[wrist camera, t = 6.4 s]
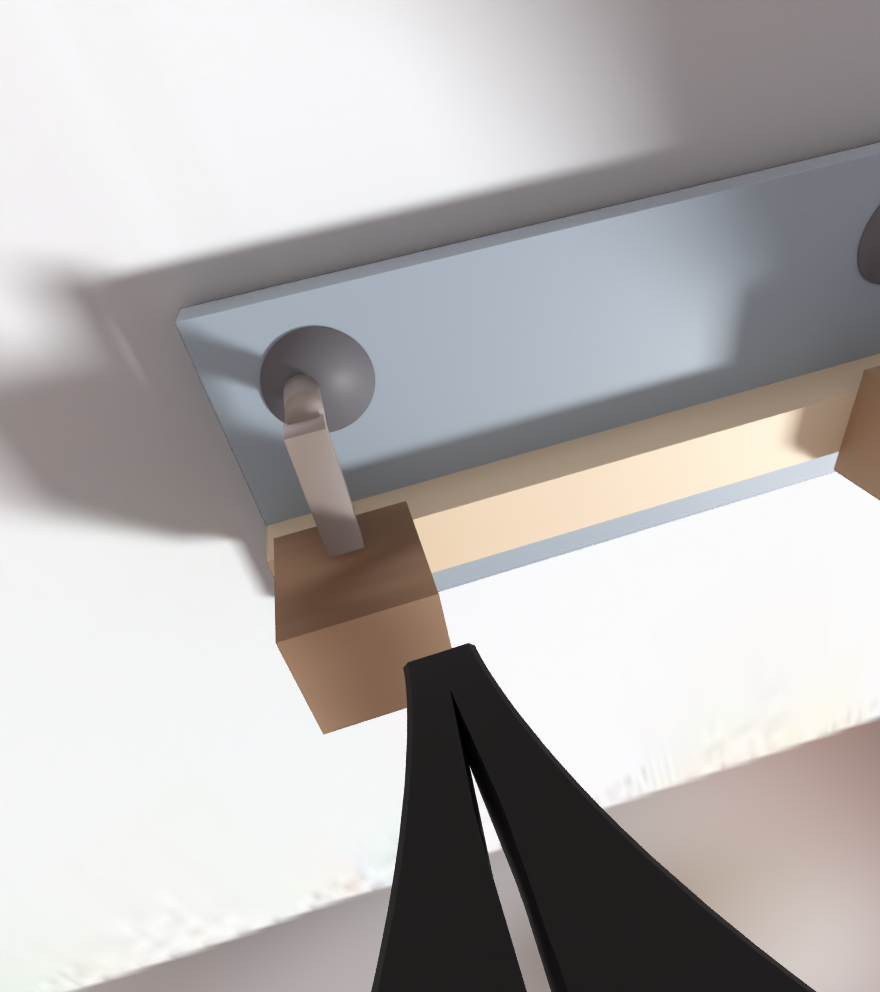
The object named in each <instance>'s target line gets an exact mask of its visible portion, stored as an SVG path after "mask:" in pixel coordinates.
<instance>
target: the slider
mask: <svg viewBox="0 0 880 992" xmlns="http://www.w3.org/2000/svg"><path fill="white" fill-rule="evenodd" d="M283 394H284V410H285V424H283V436H284V442H285V445H286V447H287V450H288V452H289V455H290V458H291V460H292V463H293V466H294V468H295V471H296V473H297V476H298V479H299V481H300V484H301V487H302V489H303V492H304V494H305V497H306V500H307V502H308V505H309V507H310V510H311V513H312V515H313V518H314V521H315V523H316V527H312V528H309V529H305V530H302V531H298V532H295V533H291V534H288V535H284V536H281V537H277V538H274V581H275V629H276V644H277V646H278V648H279V650H280V652H281V654H282V656H283V658H284V660H285V662H286V664H287V665H288V667H289V669H290V671H291V673H292V675H293V677H294V679H295V681H296V683H297V685H298V687H299V688H300V690H301V692H302V694H303V696H304V698H305V700H306V702H307V704H308V706H309V708H310V709H311V711H312V713H313V715H314V717H315V719H316V721H317V723H318V725H319V727H320V729H321V731H322V732H323V734H327V733H330V732H333V731H336V730H339V729H342V728H345V727H348V726H351V725H355V724H358V723H361V722H364V721H367V720H370V719H373V718H376V717H379V716H383V715H386V714H389V713H392V712H395V711H398V710H401V709H404V708H407V695H406V684H405V676H404V670H403V667H404V666H405V665H406V664H407V663H408V662H410V661H413V660H417V659H420V658H423V657H426V656H429V655H433V654H436V653H439V652H442V651H445V650H449V649H452V648H451V644H450V640H449V636H448V631H447V627H446V623H445V619H444V614H443V610H442V606H441V602H440V597H439V593H438V590H437V588H436V585H435V582H434V579H433V576H432V573H431V570H430V568H429V565H428V562H427V559H426V556H425V553H424V550H423V547H422V545H421V542H420V539H419V536H418V533H417V530H416V527H415V525H414V522H413V519H412V516H411V513H410V510H409V507H408V505H407V502H406V501H404V502H400V503H397V504H393V505H390V506H386V507H383V508H379V509H376V510H372V511H369V512H365V513H362V514H358V515H356V514H355V511H354V508H353V505H352V502H351V499H350V496H349V493H348V489H347V486H346V483H345V480H344V477H343V474H342V471H341V468H340V465H339V462H338V458H337V455H336V452H335V449H334V446H333V443H332V440H331V437H330V434H329V431H328V427H327V424H326V418H325V413H324V408H323V403H322V397H321V392H320V387H319V385H318V383H317V381H316V380H315V379H314V378H312V377H310V376H308V375H304V374H299V375H295V376H292V377H291V378H289V379H288V380H287V381H286V383H285V385H284V388H283Z"/></svg>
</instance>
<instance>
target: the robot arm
mask: <svg viewBox="0 0 880 992" xmlns="http://www.w3.org/2000/svg"><path fill="white" fill-rule="evenodd" d="M403 670H404V676H405V684H406V695H407V751H406V772H405V787H404V797H403V806H402V816H401V825H400V834H399V842H398V850H397V857H396V864H395V871H394V877H393V883H392V889H391V895H390V901H389V907H388V912H387V918H386V923H385V928H384V933H383V938H382V944H381V948H380V953H379V958H378V964H377V968H376V973H375V977H374V982H373V986H372V991H371V992H527V991H526V988H525V984H524V981H523V978H522V974H521V971H520V968H519V964H518V961H517V957H516V954H515V951H514V947H513V944H512V940H511V937H510V933H509V930H508V927H507V924H506V920H505V917H504V914H503V910H502V906H501V903H500V900H499V896H498V893H497V890H496V887H495V883H494V879H493V874H492V870H491V865H490V860H489V855H488V851H487V846H486V841H485V837H484V832H483V827H482V822H481V818H480V813H479V808H478V804H477V799H476V794H475V789H474V785H473V780H472V775H471V771H470V768H471V770H472V773H473V775H474V778H475V780H476V783H477V785H478V788H479V790H480V793H481V796H482V798H483V801H484V803H485V806H486V808H487V811H488V813H489V816H490V818H491V821H492V823H493V826H494V828H495V831H496V833H497V836H498V838H499V841H500V843H501V846H502V848H503V851H504V853H505V856H506V858H507V861H508V863H509V866H510V868H511V871H512V873H513V876H514V878H515V881H516V884H517V886H518V889H519V892H520V895H521V898H522V900H523V903H524V906H525V909H526V912H527V915H528V919H529V922H530V925H531V928H532V931H533V935H534V938H535V941H536V944H537V947H538V951H539V954H540V957H541V960H542V963H543V966H544V970H545V973H546V976H547V979H548V982H549V986H550V989H551V992H816V991H815V990H813V989H812V988H811V987H809V986H808V985H807V984H805V983H804V982H803V981H801V980H800V979H799V978H798V977H796V976H795V975H793V974H792V973H791V972H790V971H788V970H787V969H786V968H784V967H783V966H782V965H780V964H779V963H778V962H777V961H775V960H774V959H773V958H772V957H770V956H769V955H768V954H767V953H765V952H764V951H763V950H761V949H760V948H759V947H757V946H756V945H755V944H754V943H753V942H751V941H750V940H749V939H748V938H746V937H745V936H744V935H743V934H742V933H740V932H739V931H738V930H736V929H735V928H734V927H733V926H732V925H731V924H729V923H728V922H727V921H726V920H724V919H723V918H722V917H721V916H720V915H718V914H717V913H716V912H715V911H714V910H712V909H711V908H710V907H709V906H707V905H706V904H705V903H704V902H703V901H702V900H701V899H699V898H698V897H697V896H696V895H695V894H694V893H693V892H691V891H690V890H689V889H688V888H687V887H686V886H685V885H684V884H682V883H681V882H680V881H679V880H678V879H677V878H676V877H675V876H673V875H672V874H671V873H670V872H669V871H668V870H667V869H665V868H664V867H663V866H662V865H661V864H660V863H658V862H657V861H656V860H655V859H654V858H653V857H652V856H651V855H650V854H649V853H648V852H646V851H645V850H644V849H643V848H642V847H641V846H640V845H639V844H638V843H637V842H636V841H635V840H634V839H633V838H632V837H631V836H630V835H629V834H628V833H626V832H625V831H624V830H623V829H622V828H621V827H620V826H619V825H618V824H617V823H616V822H615V821H614V820H613V819H612V818H611V817H610V816H609V815H608V814H607V813H606V812H605V811H604V810H603V809H602V808H601V807H600V806H599V805H598V804H597V803H596V802H595V801H594V800H593V799H592V797H591V796H590V795H589V794H588V793H587V792H586V791H585V790H584V789H583V788H582V787H581V786H580V785H579V784H578V783H577V782H576V780H575V779H574V778H573V777H572V776H571V775H570V774H569V773H568V772H567V770H566V769H565V768H564V767H563V766H562V765H561V764H560V763H559V762H558V760H557V759H556V758H555V757H554V756H553V755H552V753H551V752H550V751H549V750H548V749H547V748H546V746H545V745H544V744H543V743H542V742H541V740H540V739H539V738H538V737H537V735H536V734H535V733H534V732H533V730H532V729H531V728H530V727H529V726H528V724H527V723H526V722H525V721H524V719H523V718H522V717H521V716H520V714H519V713H518V712H517V710H516V709H515V708H514V706H513V705H512V704H511V702H510V701H509V700H508V698H507V697H506V695H505V694H504V692H503V691H502V690H501V688H500V687H499V685H498V684H497V682H496V681H495V679H494V678H493V676H492V675H491V673H490V672H489V670H488V669H487V667H486V665H485V664H484V662H483V660H482V658H481V657H480V655H479V653H478V651H477V649H476V647H475V645H472V644H469V643H468V644H464V645H461V646H458V647H455V648H452V649H449V650H445V651H442V652H439V653H436V654H433V655H429V656H426V657H423V658H420V659H417V660H413V661H410V662H408V663H407V664H406V665H405V666H404V667H403ZM469 765H470V766H469Z"/></svg>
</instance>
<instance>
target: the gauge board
mask: <svg viewBox="0 0 880 992" xmlns="http://www.w3.org/2000/svg"><path fill="white" fill-rule="evenodd" d="M175 324H176V327H177V329H178V331H179V333H180V336H181V338H182V340H183V342H184V344H185V347H186V349H187V351H188V353H189V356H190V358H191V360H192V362H193V364H194V367H195V369H196V371H197V373H198V375H199V378H200V380H201V382H202V384H203V387H204V389H205V391H206V393H207V395H208V398H209V400H210V402H211V404H212V407H213V409H214V411H215V413H216V415H217V418H218V420H219V422H220V424H221V427H222V429H223V431H224V433H225V435H226V438H227V440H228V442H229V444H230V446H231V449H232V451H233V453H234V455H235V458H236V460H237V462H238V464H239V466H240V469H241V471H242V473H243V475H244V478H245V480H246V482H247V484H248V486H249V489H250V491H251V493H252V495H253V497H254V500H255V502H256V504H257V506H258V509H259V511H260V513H261V515H262V517H263V520H264V522H265V524H266V562H267V564H268V566H269V568H270V570H271V572H272V575H273V577H274V538H277V537H281V536H284V535H288V534H291V533H295V532H298V531H302V530H305V529H309V528H312V527H316V523H315V521H314V518H313V515H312V513H311V510H310V507H309V505H308V502H307V500H306V497H305V494H304V492H303V489H302V487H301V484H300V481H299V479H298V476H297V473H296V471H295V468H294V466H293V463H292V460H291V458H290V455H289V452H288V450H287V447H286V445H285V442H284V436H283V424H285V410H284V394H283V388H284V385H285V383H286V381H287V380H288V379H289V378H291V377H292V376H295V375H299V374H304V375H308V376H310V377H312V378H314V379H315V380H316V381H317V383H318V385H319V387H320V392H321V397H322V403H323V408H324V413H325V418H326V424H327V427H328V431H329V434H330V437H331V440H332V443H333V446H334V449H335V452H336V455H337V458H338V462H339V465H340V468H341V471H342V474H343V477H344V480H345V483H346V486H347V489H348V493H349V496H350V499H351V502H352V505H353V508H354V511H355V514H356V515H358V514H362V513H365V512H369V511H372V510H376V509H379V508H383V507H386V506H390V505H393V504H397V503H400V502H404V501H406V502H407V505H408V507H409V510H410V513H411V516H412V519H413V522H414V525H415V527H416V530H417V533H418V536H419V539H420V542H421V545H422V547H423V550H424V553H425V556H426V559H427V562H428V565H429V568H430V570H431V573H432V576H433V579H434V582H435V585H436V588H437V590H438V592H440V591H443V590H446V589H450V588H453V587H456V586H460V585H463V584H466V583H469V582H473V581H476V580H479V579H483V578H486V577H489V576H493V575H496V574H499V573H503V572H506V571H509V570H512V569H516V568H519V567H522V566H526V565H529V564H532V563H536V562H539V561H542V560H546V559H549V558H552V557H555V556H559V555H562V554H565V553H569V552H572V551H575V550H579V549H582V548H585V547H589V546H592V545H595V544H598V543H602V542H605V541H608V540H612V539H615V538H618V537H622V536H625V535H628V534H632V533H635V532H638V531H641V530H645V529H648V528H651V527H655V526H658V525H661V524H665V523H668V522H671V521H675V520H678V519H681V518H685V517H688V516H691V515H694V514H698V513H701V512H704V511H708V510H711V509H714V508H718V507H721V506H724V505H728V504H731V503H734V502H737V501H741V500H744V499H747V498H751V497H754V496H757V495H761V494H764V493H767V492H771V491H774V490H777V489H780V488H784V487H787V486H790V485H794V484H797V483H800V482H804V481H807V480H810V479H814V478H817V477H820V476H823V475H827V474H830V473H833V472H838V473H839V474H841V475H842V476H844V477H845V478H847V479H848V480H850V481H851V482H853V483H854V484H856V485H857V486H859V487H860V488H862V489H863V490H865V491H866V492H868V493H869V494H871V495H872V496H874V497H876V498H877V499H879V500H880V142H879V143H875V144H870V145H866V146H862V147H858V148H854V149H849V150H845V151H841V152H837V153H833V154H828V155H824V156H820V157H816V158H812V159H807V160H803V161H799V162H795V163H791V164H786V165H782V166H778V167H774V168H770V169H765V170H761V171H757V172H753V173H749V174H744V175H740V176H736V177H732V178H728V179H723V180H719V181H715V182H711V183H707V184H702V185H698V186H694V187H690V188H686V189H681V190H677V191H673V192H669V193H665V194H660V195H656V196H652V197H648V198H643V199H639V200H635V201H631V202H627V203H622V204H618V205H614V206H610V207H606V208H601V209H597V210H593V211H589V212H585V213H580V214H576V215H572V216H568V217H564V218H559V219H555V220H551V221H547V222H543V223H538V224H534V225H530V226H526V227H522V228H517V229H513V230H509V231H505V232H501V233H496V234H492V235H488V236H484V237H480V238H475V239H471V240H467V241H463V242H459V243H454V244H450V245H446V246H442V247H438V248H433V249H429V250H425V251H421V252H417V253H412V254H408V255H404V256H400V257H396V258H391V259H387V260H383V261H379V262H375V263H370V264H366V265H362V266H358V267H354V268H349V269H345V270H341V271H337V272H333V273H328V274H324V275H320V276H316V277H312V278H307V279H303V280H299V281H295V282H291V283H286V284H282V285H278V286H274V287H270V288H265V289H261V290H257V291H253V292H249V293H244V294H240V295H236V296H232V297H228V298H223V299H219V300H215V301H211V302H207V303H202V304H198V305H194V306H190V307H185V308H181V309H180V311H179V313H178V316H177V318H176V321H175Z"/></svg>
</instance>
